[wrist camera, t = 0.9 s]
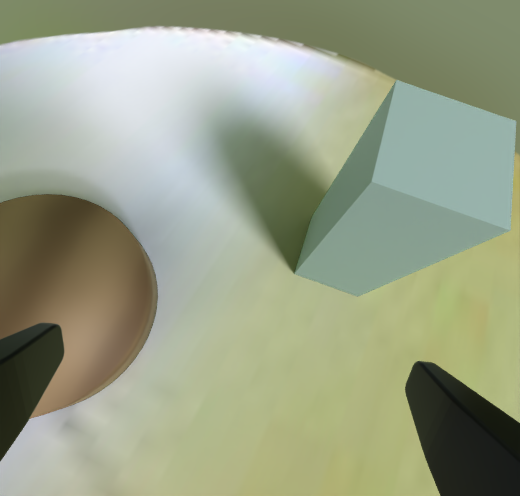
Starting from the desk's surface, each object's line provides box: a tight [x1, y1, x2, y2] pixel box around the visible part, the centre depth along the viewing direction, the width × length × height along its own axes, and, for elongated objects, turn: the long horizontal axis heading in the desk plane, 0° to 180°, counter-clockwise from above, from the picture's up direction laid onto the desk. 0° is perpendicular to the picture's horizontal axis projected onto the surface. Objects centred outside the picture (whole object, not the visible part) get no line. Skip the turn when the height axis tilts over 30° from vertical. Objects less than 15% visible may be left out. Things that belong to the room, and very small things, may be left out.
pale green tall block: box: [294, 80, 516, 296], centre depth 17 cm, size 5×5×13 cm
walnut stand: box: [0, 194, 158, 419], centre depth 19 cm, size 13×13×3 cm
